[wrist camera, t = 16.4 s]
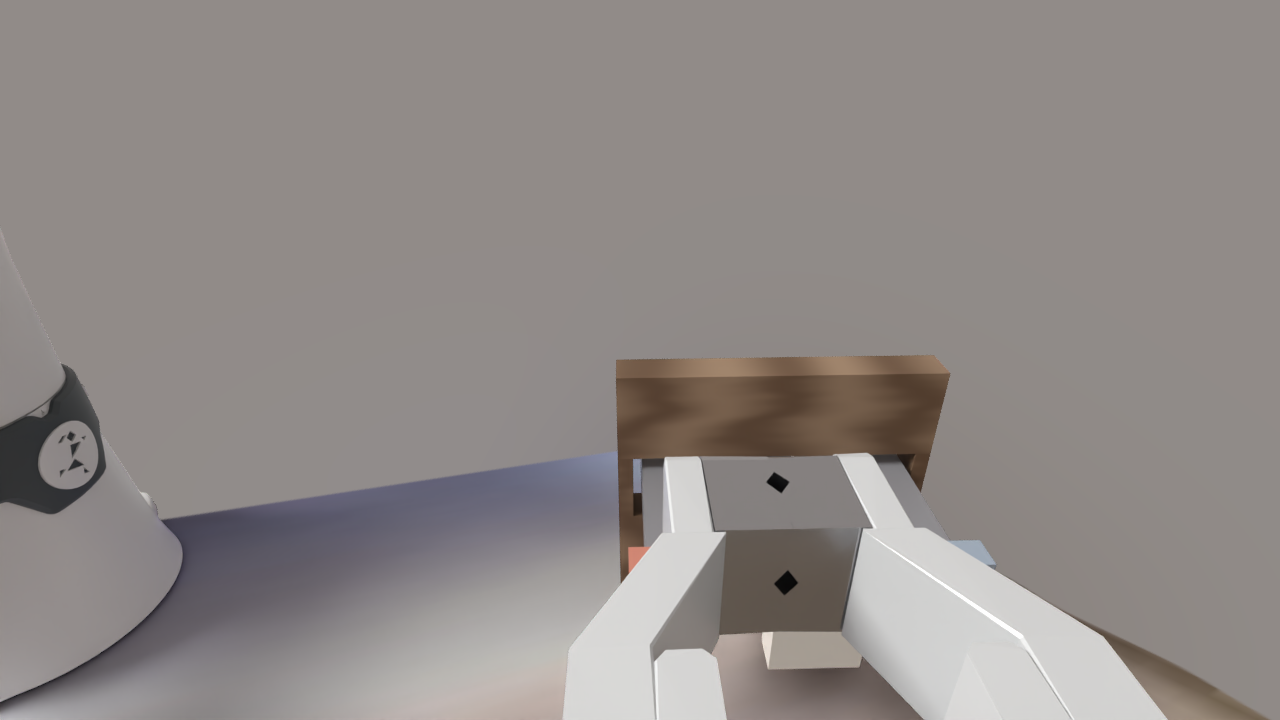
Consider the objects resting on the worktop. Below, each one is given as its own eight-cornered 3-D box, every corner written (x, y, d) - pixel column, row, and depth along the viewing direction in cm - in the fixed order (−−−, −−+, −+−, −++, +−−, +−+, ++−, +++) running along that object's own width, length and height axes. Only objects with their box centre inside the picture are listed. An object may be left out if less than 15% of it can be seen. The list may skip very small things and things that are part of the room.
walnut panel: (621, 603, 40) (616, 378, 33) (621, 579, 42) (616, 359, 35) (894, 597, 41) (950, 373, 33) (882, 573, 43) (933, 355, 35)
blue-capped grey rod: (889, 630, 30) (905, 566, 28) (817, 465, 41) (825, 411, 39) (975, 628, 30) (996, 564, 28) (880, 464, 41) (891, 410, 40)
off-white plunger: (768, 669, 28) (776, 604, 27) (727, 486, 40) (731, 430, 38) (859, 667, 29) (874, 602, 27) (793, 484, 40) (800, 429, 38)
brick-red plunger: (629, 636, 30) (628, 572, 28) (627, 468, 41) (626, 414, 39) (716, 634, 30) (721, 570, 28) (691, 467, 41) (693, 413, 39)
